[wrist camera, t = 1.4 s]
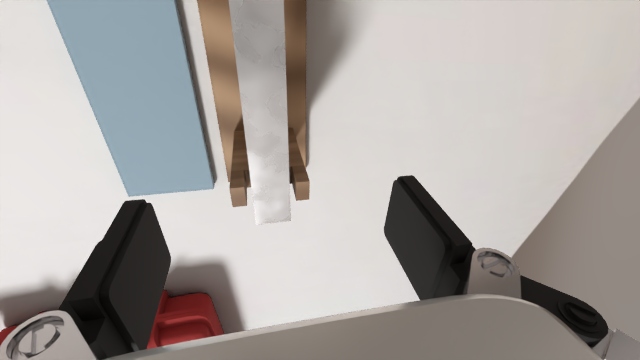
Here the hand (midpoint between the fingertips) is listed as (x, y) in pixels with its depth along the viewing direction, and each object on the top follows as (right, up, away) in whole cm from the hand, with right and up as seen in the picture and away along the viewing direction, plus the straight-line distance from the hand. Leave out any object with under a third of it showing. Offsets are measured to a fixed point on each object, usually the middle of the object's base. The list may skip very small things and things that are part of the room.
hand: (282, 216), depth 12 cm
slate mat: (-17, +13, +18) cm, 28 cm away
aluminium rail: (-3, +8, +12) cm, 15 cm away
